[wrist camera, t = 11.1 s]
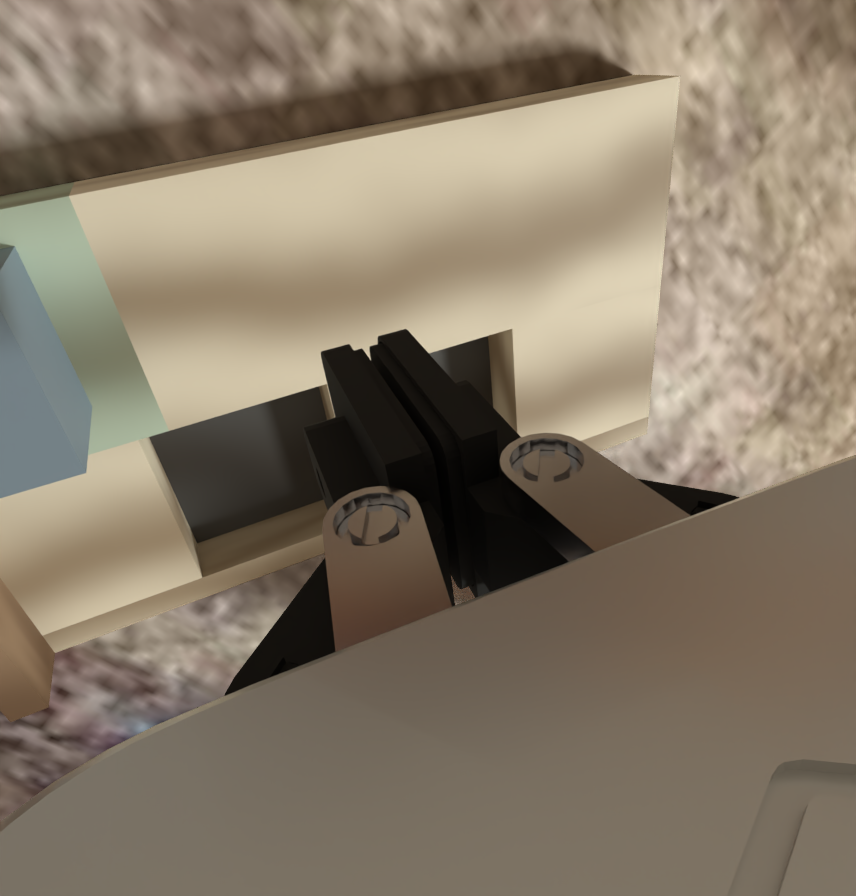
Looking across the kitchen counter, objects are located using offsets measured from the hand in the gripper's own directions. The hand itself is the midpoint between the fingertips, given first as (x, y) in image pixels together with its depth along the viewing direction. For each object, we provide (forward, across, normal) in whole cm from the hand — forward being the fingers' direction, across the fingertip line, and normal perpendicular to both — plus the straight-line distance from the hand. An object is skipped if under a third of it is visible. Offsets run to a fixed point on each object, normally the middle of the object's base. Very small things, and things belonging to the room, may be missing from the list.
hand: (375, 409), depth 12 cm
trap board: (+12, -1, +4) cm, 13 cm away
